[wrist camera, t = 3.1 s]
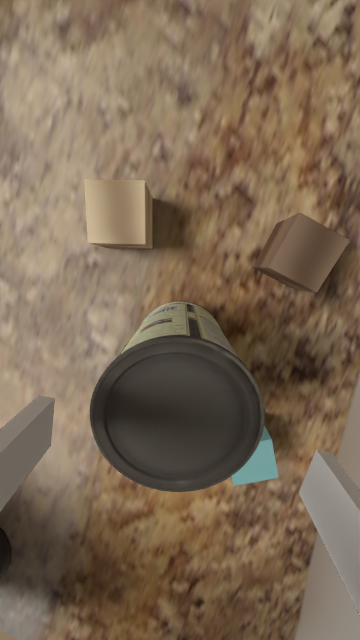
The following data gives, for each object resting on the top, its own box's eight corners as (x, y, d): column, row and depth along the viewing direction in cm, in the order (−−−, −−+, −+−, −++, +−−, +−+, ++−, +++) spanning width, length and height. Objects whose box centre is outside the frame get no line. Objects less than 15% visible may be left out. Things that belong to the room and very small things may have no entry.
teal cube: (225, 450, 30) (233, 485, 26) (217, 418, 29) (224, 448, 24) (263, 443, 30) (278, 477, 25) (256, 410, 29) (271, 439, 24)
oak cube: (106, 247, 25) (88, 242, 20) (104, 197, 24) (84, 179, 19) (152, 248, 25) (145, 244, 20) (152, 198, 24) (144, 180, 19)
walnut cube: (252, 267, 25) (268, 267, 20) (276, 223, 24) (300, 212, 19) (291, 287, 26) (316, 292, 21) (316, 245, 25) (349, 240, 20)
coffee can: (181, 399, 29) (179, 520, 15) (119, 345, 27) (53, 423, 14) (242, 343, 27) (303, 422, 13) (179, 281, 26) (173, 298, 12)
